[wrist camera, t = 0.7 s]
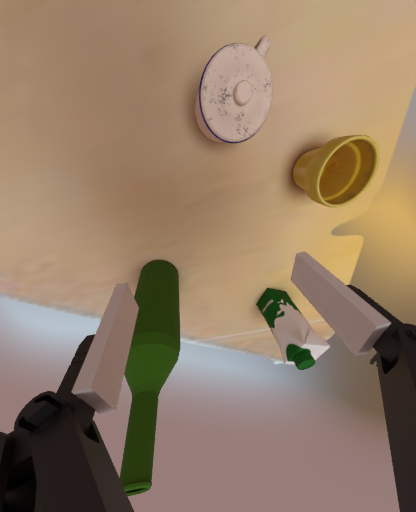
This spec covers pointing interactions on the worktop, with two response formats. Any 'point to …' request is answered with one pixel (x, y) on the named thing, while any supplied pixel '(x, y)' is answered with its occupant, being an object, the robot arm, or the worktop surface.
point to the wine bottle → (149, 368)
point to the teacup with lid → (234, 92)
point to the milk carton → (291, 329)
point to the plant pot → (338, 170)
